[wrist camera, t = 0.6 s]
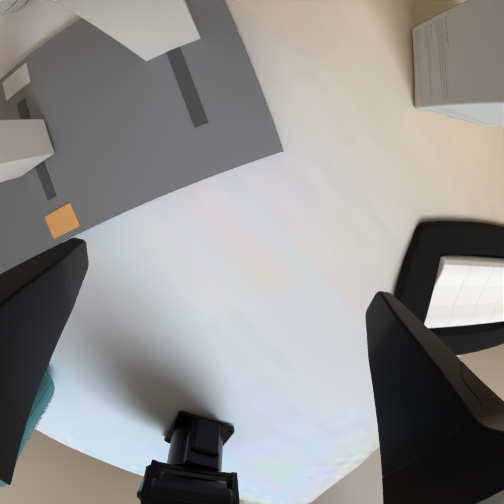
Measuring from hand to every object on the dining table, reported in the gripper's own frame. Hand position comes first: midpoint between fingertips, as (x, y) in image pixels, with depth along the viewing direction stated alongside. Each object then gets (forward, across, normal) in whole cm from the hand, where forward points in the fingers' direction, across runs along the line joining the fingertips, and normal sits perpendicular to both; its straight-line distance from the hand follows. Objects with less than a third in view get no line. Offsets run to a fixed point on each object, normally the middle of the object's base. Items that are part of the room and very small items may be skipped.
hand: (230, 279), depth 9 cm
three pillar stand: (+14, +17, +2) cm, 22 cm away
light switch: (+13, -24, +8) cm, 29 cm away
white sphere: (+18, +23, -13) cm, 32 cm away
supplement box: (+17, -15, -10) cm, 25 cm away
